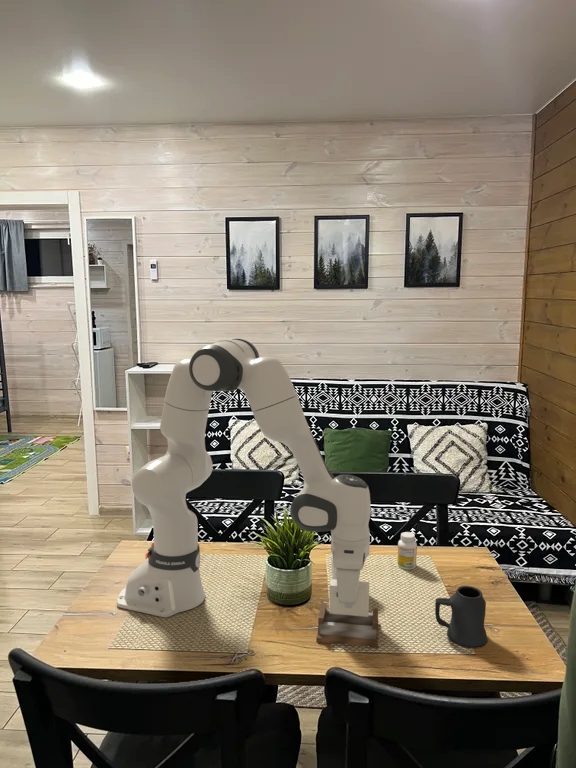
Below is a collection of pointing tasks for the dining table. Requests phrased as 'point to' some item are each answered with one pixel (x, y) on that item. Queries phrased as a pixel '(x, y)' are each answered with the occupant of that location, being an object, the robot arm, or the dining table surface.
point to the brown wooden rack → (348, 628)
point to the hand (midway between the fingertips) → (349, 601)
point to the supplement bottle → (407, 551)
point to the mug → (465, 617)
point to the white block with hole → (357, 608)
